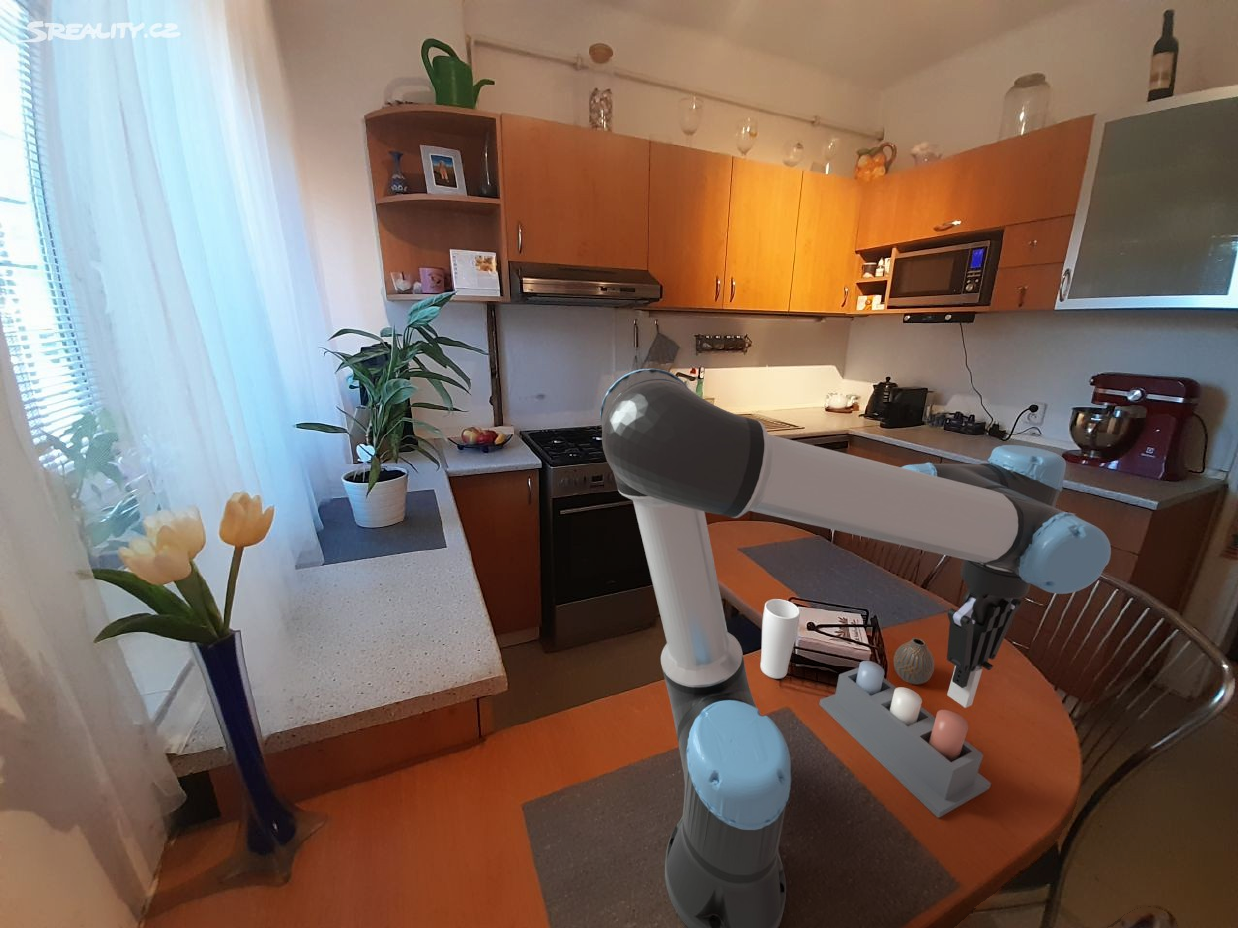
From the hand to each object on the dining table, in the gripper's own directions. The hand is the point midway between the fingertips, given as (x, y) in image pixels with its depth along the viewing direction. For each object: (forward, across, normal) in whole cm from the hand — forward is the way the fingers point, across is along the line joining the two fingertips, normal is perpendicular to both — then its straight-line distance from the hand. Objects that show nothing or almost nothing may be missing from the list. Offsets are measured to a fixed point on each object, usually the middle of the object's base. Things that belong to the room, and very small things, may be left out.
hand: (959, 699), depth 72 cm
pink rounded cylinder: (+11, 0, 0) cm, 11 cm away
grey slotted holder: (+16, 0, +7) cm, 17 cm away
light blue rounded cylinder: (+13, 0, +14) cm, 19 cm away
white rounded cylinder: (+13, 0, +7) cm, 14 cm away
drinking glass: (+16, -8, +29) cm, 34 cm away
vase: (+16, +17, +17) cm, 29 cm away
